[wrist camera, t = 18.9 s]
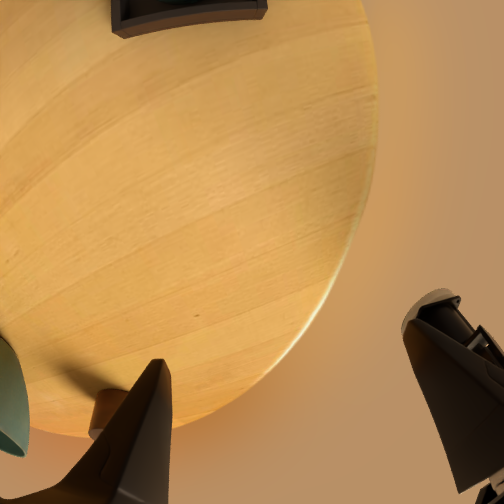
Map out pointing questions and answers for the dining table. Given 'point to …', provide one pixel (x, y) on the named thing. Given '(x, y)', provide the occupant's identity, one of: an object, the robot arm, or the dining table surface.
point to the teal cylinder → (179, 2)
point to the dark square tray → (178, 14)
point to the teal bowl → (13, 404)
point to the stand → (104, 409)
